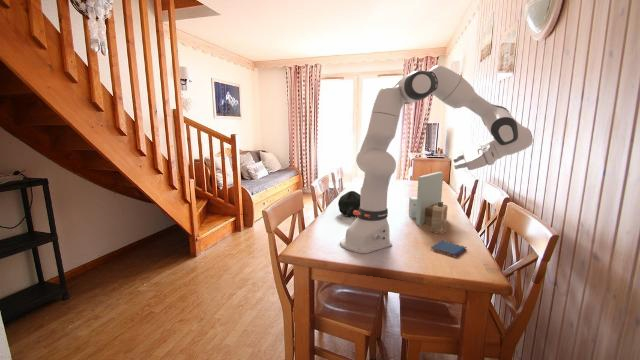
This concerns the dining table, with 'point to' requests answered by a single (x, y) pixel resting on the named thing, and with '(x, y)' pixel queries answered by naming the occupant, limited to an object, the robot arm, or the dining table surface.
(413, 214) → the small box
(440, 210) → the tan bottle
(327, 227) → the dining table surface
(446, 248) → the blue flat slab
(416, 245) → the dining table surface
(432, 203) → the wall panel
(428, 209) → the walnut ledge
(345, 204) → the squash
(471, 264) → the dining table surface
